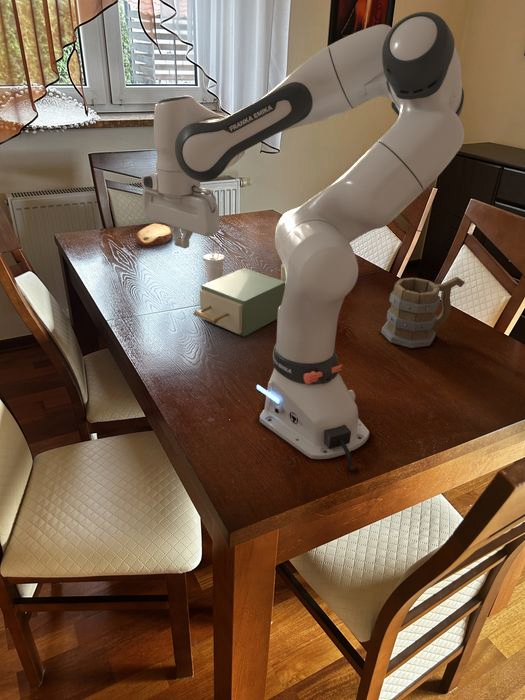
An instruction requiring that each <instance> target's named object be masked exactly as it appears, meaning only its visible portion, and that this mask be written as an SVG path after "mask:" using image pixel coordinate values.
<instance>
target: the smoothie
mask: <svg viewBox="0 0 525 700" xmlns="http://www.w3.org/2000/svg"><path fill="white" fill-rule="evenodd" d="M214 245H215V243H214V242H213V241H212V242H211V252H209V253H206V254H204V255H203V257H202V261H203V262H204V268H205V273H206V280H207V283H208V282H210V281H213V280H215V279H218V278H220V277H223V270H224V262H225V261H226V257H225V254H223V253H218V252H215V248H214V247H215V246H214Z"/></svg>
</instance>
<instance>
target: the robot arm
mask: <svg viewBox="0 0 525 700" xmlns="http://www.w3.org/2000/svg"><path fill="white" fill-rule="evenodd" d="M377 98H386V99H388V100H390V101H391V104H390V105H391V109H392V110H393V111H394V112H395V113H396V115H397V116H398V117H397V119H396V121H395V122H394V123H393V125H392V126H391V127H390V128H389V129H388V130H387V131H386V132H385V133H384V134H383V135H382V136H381V137H379V139H378V140H377V141H376V142H375V143H373V145H371V147H370V148H369V149H368V150H367V151H365V153H364V154H363V155H361V157H360V158H359V159H358V160H357V161H355V162H354V164H353V165H352V166H350V167H349V169H348V170H347V171H345V173H343V175H341V176H340V177H339V178H337V179H336V180H335V181H334V182H333V183H331V184H330V185H329V186H327V187H326V188H324V189H322V190H321V191H320V192H318V193H317V194H316V195H314V196H313V197H311V198H310V199H309V200H307V201H305V202H304V203H303V204H302V205H300V206H298V207H295V208H292V209H290V210H288V211H286V212H285V213H284V214H283V215H282V216H281V217H280V219H279V220H278V222H277V223H276V226H275V231H274V246H275V251H276V253H277V255H278V257H279V259H280V261H281V263H282V264H283V265H284V269H285V275H286V285H285V291H284V296H283V300H282V304H281V305H280V307H279V309H278V318H277V319H276V321H277V323H276V341H275V342H276V343H274V347H273V350H272V351H273V352H272V365H273V370H272V373H271V376H270V378H269V380H268V383H267V389H265V388H263V387H262V386H261V385H259V384H257V385H256V389H257V390H258V391H259V392H261V393H262V394H264V395H265V402H264V409H263V410H262V412H261V413H260V415H259V418H258V419H259V423H261V424H262V425H263V426H265V427H266V428H267V429H269V430H270V431H272V432H273V433H274V434H276V435H277V436H278V437H280V438H281V439H282V440H284V441H285V442H287V443H288V444H290V445H291V446H293V447H294V448H295V449H297V450H298V451H299V452H301V453H302V454H303V455H305V456H306V457H308V458H310V459H311V460H327V459H333V458H336V457H340V456H343V455H346V458H347V459H346V460H347V466H348V469H349V470H350V471H351V472H355V471H356V468H355V467H354V465H353V457H352V454H351V452H353V451H355V450H357V449H358V448H360V447H362V446H363V445H364V444H366V442H367V441H368V440H369V437H370V430H369V429H368V428H367V427H366V426H365V424H364V423H363V422H362V421H361V419H360V418H359V408H358V405H357V404H356V393H355V391H354V389H348V387H347V385H346V384H345V381H344V380H343V378H342V376H341V375H340V373H339V372H340V371H342V370H343V369H342V367H343V364H339V362H338V355H337V350H336V347H335V345H336V338H337V329H338V322H339V321H338V320H339V315H340V311H341V309H342V305H343V303H344V301H345V297H346V296H347V295H348V294H349V293H350V292H351V291H352V290H353V289H354V287H355V285H356V283H357V280H358V278H359V265H358V261H357V257H356V254H355V251H354V249H353V247H352V244H351V243H352V242H353V241H355V240H357V239H359V238H360V237H362V236H363V235H365V234H367V233H369V232H372V231H374V230H377V229H383V228H384V227H386V226H388V225H390V223H392V222H393V221H394V219H396V218H397V217H398V216H400V215H401V213H402V212H403V211H404V210H405V209H407V207H408V206H409V205H411V204H412V203H413V202H414V201H415V200H416V199H417V198H418V197H419V196H420V195H421V194H422V193H423V192H424V191H425V190H427V188H428V187H429V186H430V185H431V184H433V182H434V181H435V180H436V179H437V178H438V177H439V176H440V175H441V174H442V173H443V171H444V170H445V169H446V168H447V166H449V164H450V163H451V162H452V160H453V159H454V158H455V156H456V155H457V154H458V152H459V151H460V150H461V148H462V146H463V144H464V141H465V129H464V125H463V123H462V120H461V119H460V115H461V113H462V110H463V107H464V102H465V101H464V100H465V99H464V98H465V91H464V87H463V78H462V65H461V60H460V56H459V54H458V50H457V47H456V45H455V37H454V34H453V33H452V30H451V28H450V27H449V25H448V24H447V22H446V21H445V20H444V19H443V18H442V17H441V15H439V14H436V13H434V12H431V11H419V12H418V11H417V12H414V13H411V14H409V15H406V16H404V17H403V18H401V19H400V20H398V21H397V22H396V23H395V24H394V25H393V26H392V27H391V26H390V25H387V24H384V23H383V24H376V25H373V26H370V27H367V28H364V29H361V30H359V31H356V32H354V33H352V34H349V35H347V36H345V37H343V38H341V39H338V40H337V41H335V42H333V43H331V44H329V45H327V46H326V47H324V48H322V49H321V50H319V51H318V52H316V53H315V54H313V55H311V57H309V58H308V59H307V60H305V61H304V62H302V64H300V65H299V66H298V67H297V68H295V70H293V71H292V72H290V74H289V75H288V76H287V77H286V78H285V79H283V80H282V81H281V82H280V83H279V84H278V85H277V86H276V87H274V88H273V89H271V91H269V92H268V93H267V94H265V95H264V96H262V97H261V98H259V99H257V100H255V101H254V102H252V103H250V104H248V105H246V106H244V107H243V108H241V109H239V110H237V111H235V112H234V113H231V114H230V115H227V116H225V115H223V114H220V113H217V112H215V111H213V110H211V109H209V108H207V107H206V106H205V105H203V104H201V103H200V102H199V101H198V100H196V99H195V98H194V97H193V96H192V95H187V94H186V95H179V96H172V97H168V98H163V99H161V100H159V101H158V102H157V103H156V104H155V107H154V113H153V141H154V142H153V143H154V148H155V150H156V156H157V157H156V163H155V170H156V171H155V172H154V173H149V174H145V175H143V176H141V177H140V184H141V186H142V187H143V188H142V191H141V192H142V193H141V195H142V196H141V197H142V207H143V213H144V215H145V216H146V218H147V219H148V220H151V221H155V222H158V223H160V224H163V225H167V226H169V228H170V231H171V233H172V237H173V241H174V246H175V247H178V248H182V249H188V248H189V247H190V239H191V237H192V236H193V234H196V235H200V236H203V237H211V236H214V235H216V234H218V232H219V231H220V229H221V225H220V213H219V208H218V204H217V198H216V196H215V194H214V193H213V192H212V190H210V189H209V188H203V187H201V182H210V181H213V180H214V179H215V180H216V178H218V177H219V176H221V175H222V174H223V173H224V171H226V170H228V169H229V168H231V167H232V166H234V165H235V164H236V163H238V162H239V161H240V160H241V159H242V157H243V156H244V154H245V152H246V150H249V149H250V148H252V147H254V146H257V145H258V144H260V143H262V142H263V141H265V140H268V139H269V138H271V137H274V136H275V135H277V134H280V133H282V132H285V131H288V130H292V129H294V128H299V127H303V126H306V125H307V126H308V125H312V124H316V123H319V122H324V121H327V120H329V119H333V118H335V117H339V116H340V115H343V114H345V113H347V112H349V111H352V110H354V109H355V108H357V107H359V106H362V105H363V104H364V103H366V102H369V101H370V100H373V99H377Z"/></svg>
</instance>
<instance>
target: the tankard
mask: <svg viewBox="0 0 525 700" xmlns="http://www.w3.org/2000/svg"><path fill="white" fill-rule="evenodd" d="M465 283H466V282H465V280H463V279H461V278H460V277H458V276H455V277H452V278H451V279H449V280H446V281H445V282H443V283H434V282H433V281H431V280H427V279H424V278H418V277H405V278H400V279H398V280H397V281H396V282H395V283H394V285H393V286H394V287H393V290H392V291H391V293H390V295H389V303H391V305H390V307H389V309H388V310H387V313H386V320H387V321H386V322H385V324H384V325H383V326H382V327H381V331H380V333H381V334H382V335H383V336H384V337H385V338H386V339H387V340H388V342H390V343H391V344H394V345H398V346H401V347H404V348H405V347H406V348H409V349H413V348H415V349H416V348H422V347H430V346H431V344H432V343H433V342H434V339H435V337H436V335H437V334H436V333H437V332H436V331H435V330H434V329H433V327H436V326H439V325H440V326H441V325H443V324H444V323H445V322H446V321H447V319H448V318H449V316H450V314H451V310H452V303H451V293H452V289H453V288H454V287H456V286H457V287H459V288H462V287H463V286H464V285H465ZM439 294H440V295H439ZM440 304H441V311H440V314H439V315H437V314H436V310H437V309H438V307H439V306H440Z"/></svg>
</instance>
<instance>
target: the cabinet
mask: <svg viewBox="0 0 525 700" xmlns="http://www.w3.org/2000/svg"><path fill="white" fill-rule="evenodd" d="M285 285H286V282H284V281H281V279H279V278H276V277H273V276H269V275H267V274H264V273H261V272H257V271H254V270H252V269H248V268H245V267H242V268H240V269H238V270H234V271H233V272H230V273H227V274H225V275H222V277H220V278H218V279H215V280H213V281H210V282H208V281H207V282H206V283H203V284H201V285H200V286H201V290H202V289H204V290H206V291H210V292H212V293H215V294H218V295H220V296H223V297H225V298H228V299H231V300H233V301H236V302H238V303H241V304H242V333H240V334H238V335H239V336H241V337H246V336H248V335H250V334H252V333H254V332H255V331H257V330H259V329H261V328H262V327H265V326H266V325H268V324H270V323H272V322H275V321H277V320H278V309H279V307H280V305H281V304H282V300H283V296H284V291H285ZM203 320H204V321H207V320H205V319H203ZM207 322H208V321H207ZM210 323H211V324H213V325H215V324H214V323H212V322H210ZM217 326H218V327H221V326H219V325H217ZM221 328H222V327H221ZM224 329H225V330H227V331H229V330H228V329H226V328H224ZM231 332H232V333H234V334H236V333H235V332H233V331H231Z"/></svg>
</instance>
